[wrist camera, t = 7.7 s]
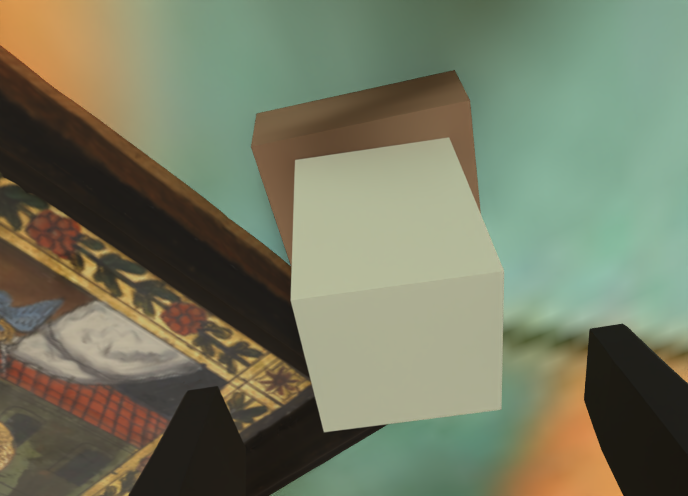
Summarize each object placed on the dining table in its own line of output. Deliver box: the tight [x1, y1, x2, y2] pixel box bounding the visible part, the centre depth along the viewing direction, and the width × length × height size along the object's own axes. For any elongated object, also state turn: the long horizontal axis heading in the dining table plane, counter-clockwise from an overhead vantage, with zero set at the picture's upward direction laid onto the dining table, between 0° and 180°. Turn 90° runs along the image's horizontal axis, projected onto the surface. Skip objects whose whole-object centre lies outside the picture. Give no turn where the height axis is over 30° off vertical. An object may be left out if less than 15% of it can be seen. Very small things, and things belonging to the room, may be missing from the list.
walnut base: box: [251, 70, 481, 267], centre depth 18 cm, size 6×6×2 cm
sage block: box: [291, 137, 504, 432], centre depth 15 cm, size 4×4×6 cm
